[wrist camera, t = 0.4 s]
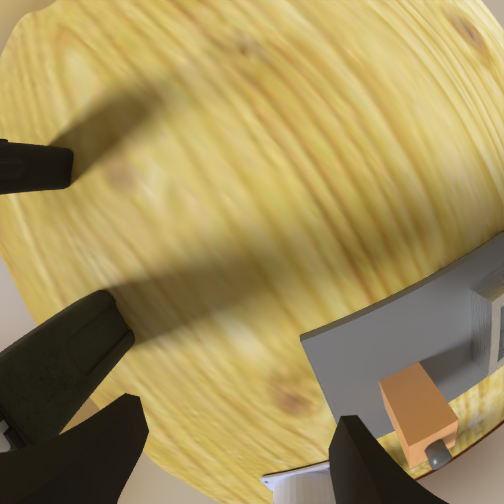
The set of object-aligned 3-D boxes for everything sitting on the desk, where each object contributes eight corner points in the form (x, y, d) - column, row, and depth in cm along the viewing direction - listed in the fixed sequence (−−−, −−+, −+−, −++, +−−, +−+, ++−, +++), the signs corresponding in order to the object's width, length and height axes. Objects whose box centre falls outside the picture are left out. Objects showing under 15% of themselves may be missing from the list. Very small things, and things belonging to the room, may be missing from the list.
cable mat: (526, 336, 17) (530, 339, 16) (346, 443, 21) (347, 449, 20) (525, 214, 15) (531, 215, 14) (299, 335, 18) (300, 341, 17)
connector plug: (421, 389, 18) (462, 459, 9) (384, 407, 18) (416, 484, 10) (418, 361, 17) (469, 435, 9) (378, 381, 18) (416, 465, 9)
